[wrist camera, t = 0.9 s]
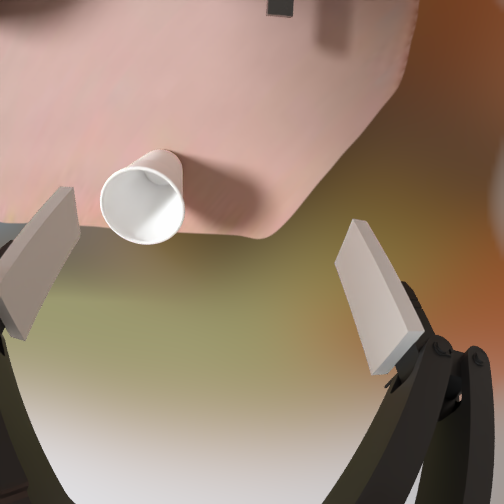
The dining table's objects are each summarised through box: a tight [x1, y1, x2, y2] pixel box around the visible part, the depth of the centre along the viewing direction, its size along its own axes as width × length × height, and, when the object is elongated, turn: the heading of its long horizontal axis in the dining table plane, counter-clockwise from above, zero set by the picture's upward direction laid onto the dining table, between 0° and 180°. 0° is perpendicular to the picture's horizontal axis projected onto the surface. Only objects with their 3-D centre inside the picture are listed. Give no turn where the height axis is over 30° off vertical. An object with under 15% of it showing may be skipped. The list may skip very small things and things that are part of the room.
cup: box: [100, 149, 185, 244], centre depth 36 cm, size 10×10×11 cm
